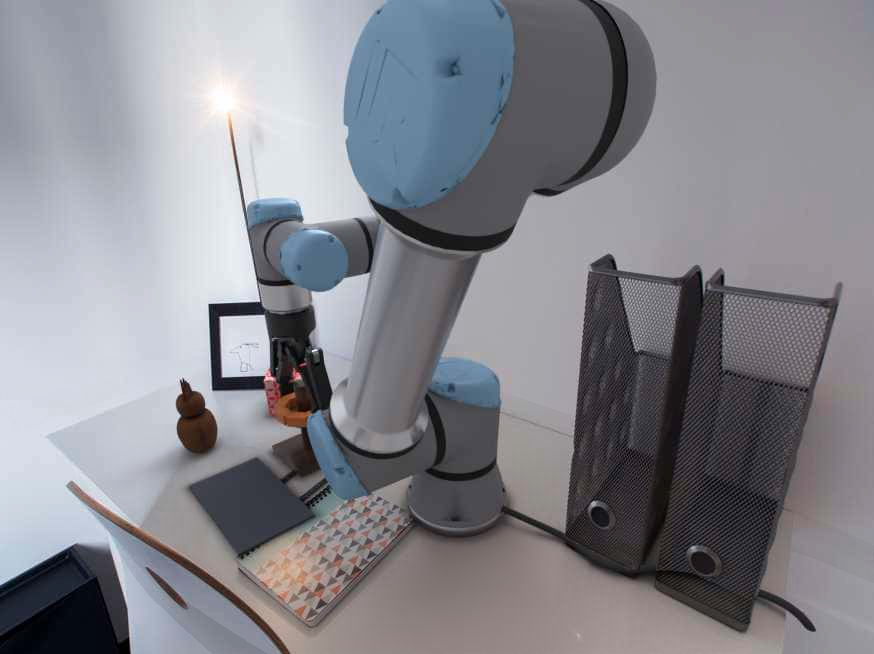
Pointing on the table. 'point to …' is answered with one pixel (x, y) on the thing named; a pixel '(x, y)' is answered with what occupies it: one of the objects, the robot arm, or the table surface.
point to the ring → (286, 415)
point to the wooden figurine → (195, 421)
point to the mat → (250, 504)
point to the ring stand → (298, 439)
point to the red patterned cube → (276, 389)
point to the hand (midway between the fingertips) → (307, 428)
